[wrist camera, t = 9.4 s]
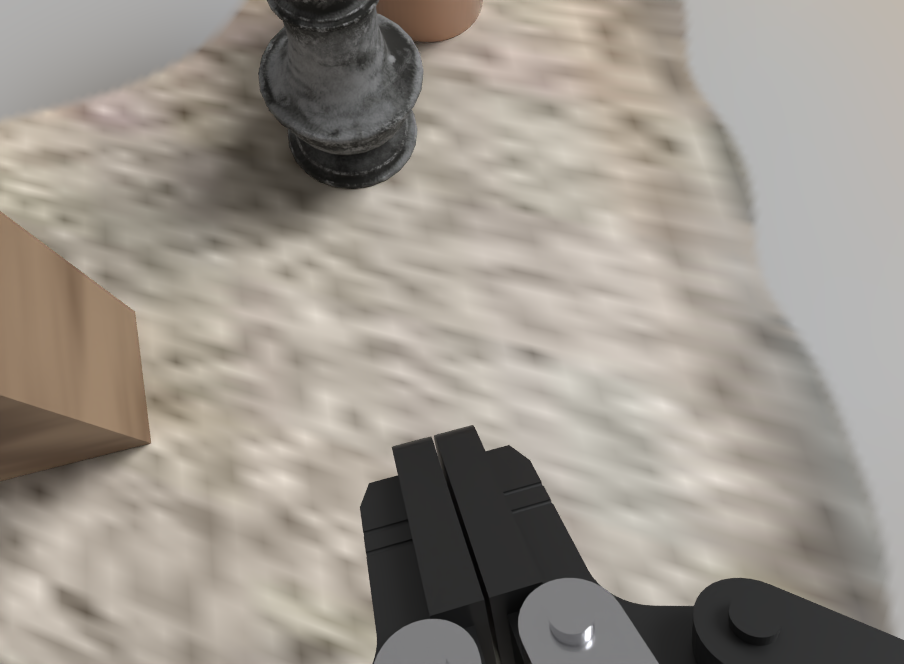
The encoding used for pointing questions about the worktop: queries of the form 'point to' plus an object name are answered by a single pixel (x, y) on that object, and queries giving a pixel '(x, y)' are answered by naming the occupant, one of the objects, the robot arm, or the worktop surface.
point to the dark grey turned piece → (343, 89)
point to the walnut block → (63, 362)
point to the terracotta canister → (431, 17)
